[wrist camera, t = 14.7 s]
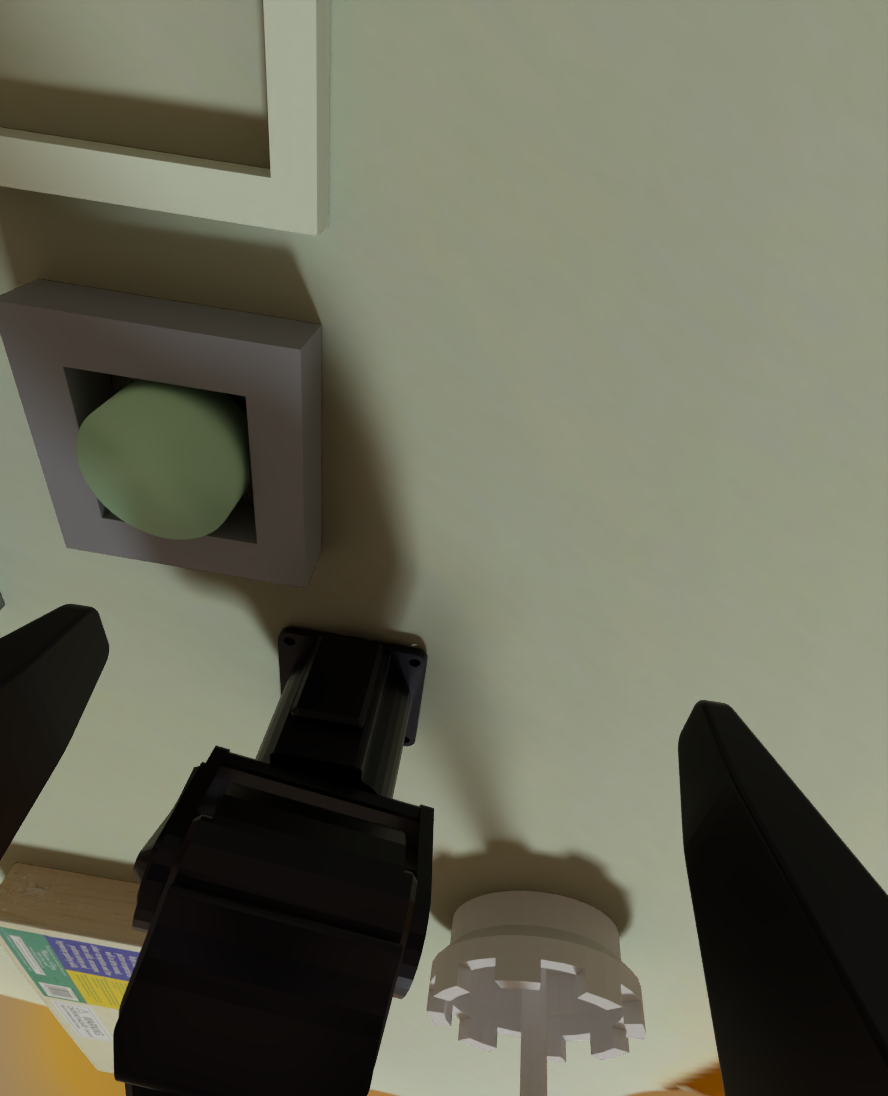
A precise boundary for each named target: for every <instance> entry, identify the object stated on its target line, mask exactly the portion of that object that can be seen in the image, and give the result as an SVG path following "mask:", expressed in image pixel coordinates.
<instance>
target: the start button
mask: <svg viewBox="0 0 888 1096" xmlns="http://www.w3.org/2000/svg"><path fill="white" fill-rule="evenodd" d="M76 455H77V460H78V464H79V467H80V470H81V473H82V475H83V477H84V479H85V481H86V482H87V484H88V486H89V487H90V489H91V490H92V492H93V493H94V494H95V496H96V497H97V498H98V499H99V500H100V501H101V502H102V504H103V505H104V506H105V507H107V508H108V509H109V510H110V511H111V512H112V513H113V514H115V515H116V516H117V517H119V518H120V519H121V520H123V521H125V522H126V523H128V524H129V525H131V526H133V527H135V528H137V529H139V530H141V531H144V532H146V533H148V534H151V535H155V536H158V537H162V538H167V539H175V540H187V539H195V538H199V537H202V536H205V535H207V534H210V533H211V532H213V531H215V530H216V529H217V528H218V527H220V526H221V525H222V524H223V522H224V521H225V520H226V519H227V517H228V516H229V514H230V513H231V511H232V510H233V508H234V507H235V505H236V504H237V503H238V501H239V500H240V498H241V497H242V495H243V494H244V492H245V491H246V489H247V488H248V486H249V485H250V484H251V482H252V471H251V458H250V445H249V432H248V420H247V416H246V415H245V413H244V412H243V410H242V409H241V408H240V407H239V406H238V405H237V403H236V402H235V401H234V400H233V399H232V398H231V397H230V396H228V395H227V394H226V393H222V392H216V391H210V390H204V389H197V388H191V387H185V386H179V385H173V384H167V383H161V382H155V381H149V380H142V379H136V378H135V379H134V380H133V381H132V382H130V383H129V384H128V385H126V386H125V387H124V388H123V389H121V390H120V391H119V392H118V393H116V394H115V395H114V396H112V397H111V398H110V399H109V400H107V401H106V402H105V403H104V404H102V405H101V406H100V407H98V408H97V409H96V410H95V411H93V412H92V413H91V414H90V415H88V417H87V418H86V419H85V420H84V421H83V423H82V425H81V427H80V429H79V432H78V435H77V441H76Z"/></svg>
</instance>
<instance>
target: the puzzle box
mask: <svg viewBox="0 0 888 1096" xmlns="http://www.w3.org/2000/svg"><path fill="white" fill-rule="evenodd" d="M138 890H139V884H137V883H131V882H125V881H119V880H114V879H108V878H102V877H97V876H91V875H85V874H80V873H74V872H68V871H62V870H57V869H51V868H45V867H39V866H34V865H28V864H22V863H15V864H14V865H13V867H12V868H11V870H10V871H9V873H8V874H7V876H6V877H5V879H4V880H3V882H2V883H1V885H0V944H1V945H2V947H3V948H4V950H5V951H6V952H7V954H8V955H9V957H10V958H11V959H12V961H13V962H14V964H15V965H16V966H17V968H18V969H19V970H20V972H21V973H22V974H23V975H24V977H25V978H26V979H27V981H28V982H29V983H30V985H31V986H32V987H33V989H34V990H35V991H36V993H37V994H38V995H39V996H40V998H41V999H42V1000H43V1002H44V1003H45V1004H46V1006H47V1007H48V1008H49V1009H50V1011H51V1012H52V1013H53V1015H54V1016H55V1017H56V1019H57V1020H58V1021H59V1022H60V1024H61V1025H62V1026H63V1028H64V1029H65V1030H66V1031H67V1033H68V1034H69V1035H70V1036H71V1038H72V1039H73V1040H74V1042H75V1043H76V1044H77V1045H78V1046H79V1048H80V1049H81V1050H82V1051H83V1053H84V1054H85V1055H86V1056H87V1057H88V1059H89V1060H90V1061H91V1062H92V1064H93V1065H94V1066H95V1067H96V1069H98V1070H99V1071H103V1072H109V1073H114V1054H113V1034H114V1028H115V1025H116V1023H117V1020H118V1018H119V1008H120V1004H121V1001H122V998H123V996H124V993H125V991H126V988H127V985H128V983H129V980H130V977H131V975H132V972H133V969H134V967H135V964H136V961H137V959H138V956H139V953H140V951H141V948H142V946H143V943H144V940H145V938H146V935H147V933H143V932H139V931H135V930H133V928H132V922H133V916H134V912H135V908H136V905H137V903H136V901H137V894H138Z"/></svg>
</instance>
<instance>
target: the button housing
mask: <svg viewBox="0 0 888 1096" xmlns="http://www.w3.org/2000/svg"><path fill="white" fill-rule="evenodd" d="M0 334H1V337H2V340H3V343H4V346H5V350H6V353H7V356H8V359H9V363H10V366H11V369H12V372H13V376H14V379H15V382H16V385H17V389H18V392H19V395H20V398H21V402H22V405H23V408H24V411H25V414H26V418H27V421H28V424H29V427H30V431H31V434H32V437H33V440H34V444H35V447H36V450H37V453H38V457H39V460H40V463H41V466H42V470H43V473H44V476H45V479H46V482H47V486H48V489H49V492H50V495H51V499H52V502H53V505H54V508H55V512H56V515H57V518H58V521H59V525H60V528H61V531H62V534H63V538H64V541H65V544H66V547H67V548H71V549H77V550H83V551H89V552H95V553H101V554H107V555H112V556H118V557H124V558H130V559H136V560H142V561H148V562H153V563H159V564H165V565H171V566H177V567H183V568H189V569H195V570H200V571H206V572H212V573H218V574H224V575H230V576H236V577H241V578H247V579H253V580H259V581H265V582H271V583H277V584H283V585H288V586H294V587H300V588H306V586H307V584H308V581H309V579H310V577H311V575H312V572H313V570H314V568H315V566H316V563H317V561H318V559H319V557H320V554H321V552H322V324H315V323H309V322H303V321H297V320H290V319H284V318H278V317H272V316H265V315H259V314H253V313H247V312H241V311H234V310H228V309H222V308H216V307H209V306H203V305H197V304H191V303H184V302H178V301H172V300H166V299H160V298H153V297H147V296H141V295H135V294H128V293H122V292H116V291H110V290H103V289H97V288H91V287H85V286H79V285H72V284H66V283H60V282H54V281H47V280H41V279H37V280H35V281H32V282H30V283H28V284H25V285H23V286H21V287H18V288H16V289H14V290H12V291H9V292H7V293H5V294H2V295H0ZM110 374H112V375H118V376H124V377H130V378H136V379H142V380H149V381H155V382H161V383H167V384H173V385H179V386H185V387H191V388H197V389H204V390H210V391H216V392H222V393H228V394H234V395H240V396H246V407H247V420H248V432H249V445H250V458H251V471H252V484H253V497H254V506H253V505H247V504H241V503H237V504H236V505H235V507H234V508H233V510H232V511H231V513H230V514H229V516H228V517H227V519H226V520H225V521H224V522H223V524H222V525H221V526H220V527H218V528H217V529H216V530H215V531H213V532H211V533H210V534H207V535H205V536H202V537H199V538H195V539H187V540H175V539H167V538H162V537H158V536H155V535H151V534H148V533H146V532H144V531H141V530H139V529H137V528H135V527H133V526H131V525H129V524H128V523H126V522H125V521H123V520H121V519H120V518H119V517H117V516H116V515H115V514H113V513H112V512H111V511H110V510H109V509H108V508H107V507H105V506H104V505H103V504H102V502H101V501H100V500H99V499H98V498H97V497H96V496H95V494H94V493H93V492H92V490H91V489H90V487H89V486H88V484H87V482H86V481H85V479H84V477H83V475H82V473H81V470H80V467H79V464H78V460H77V455H76V441H77V435H78V432H79V429H80V427H81V425H82V423H83V421H84V420H85V419H86V418H87V417H88V415H90V414H91V413H92V412H93V411H95V410H96V409H97V408H98V407H100V406H101V405H102V404H104V403H105V402H106V401H107V400H109V399H110V398H111V397H112V396H114V393H113V388H112V384H111V379H110Z"/></svg>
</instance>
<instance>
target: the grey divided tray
mask: <svg viewBox="0 0 888 1096" xmlns="http://www.w3.org/2000/svg"><path fill="white" fill-rule="evenodd" d="M4 606H5V604H4V602H3V600H2V597H1V595H0V610H1V609H2V608H3V607H4Z"/></svg>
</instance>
